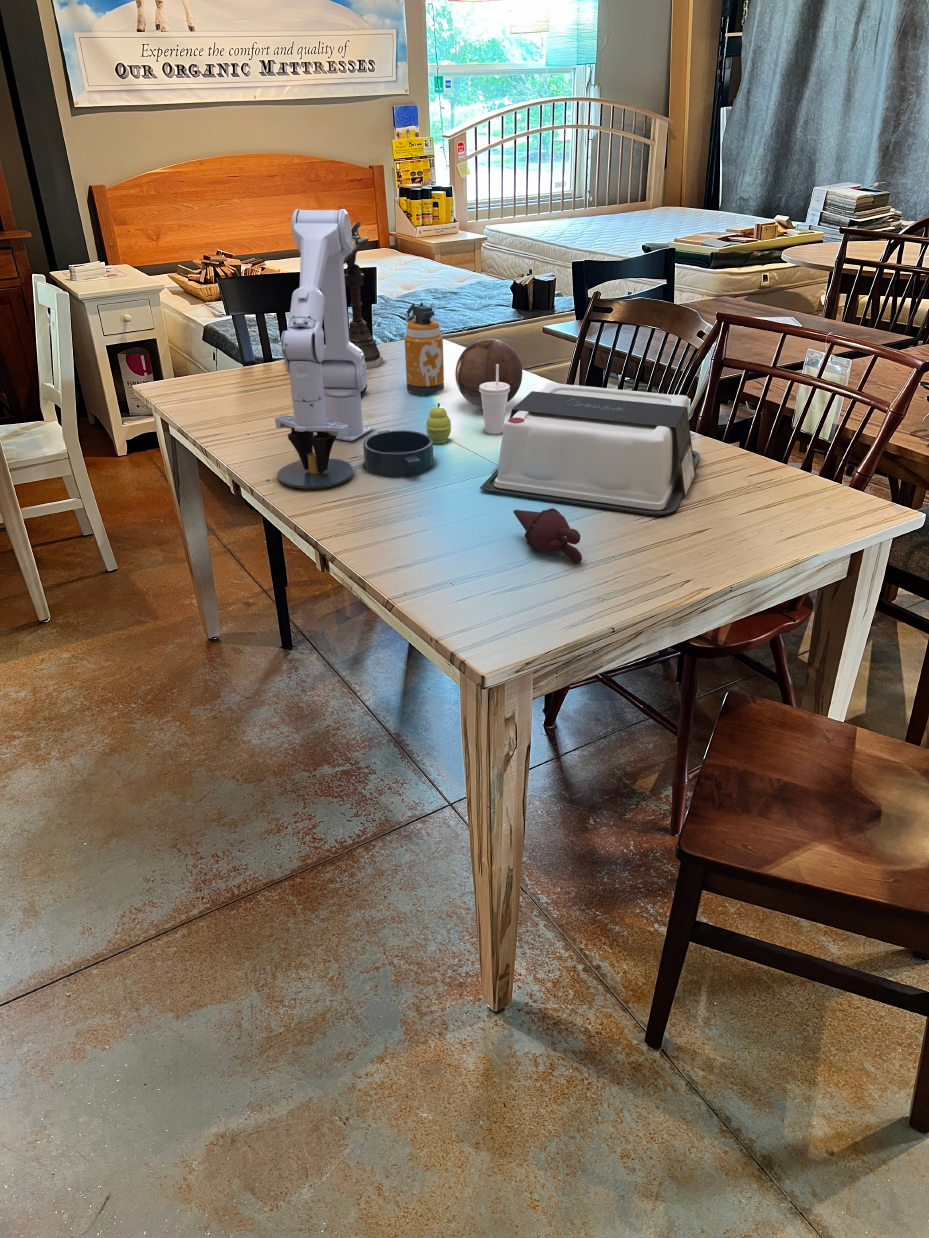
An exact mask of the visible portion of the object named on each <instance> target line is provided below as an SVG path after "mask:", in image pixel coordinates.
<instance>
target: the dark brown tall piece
mask: <svg viewBox="0 0 929 1238" xmlns="http://www.w3.org/2000/svg"><path fill="white" fill-rule="evenodd" d="M360 227H362V222H361V221H357V222H354V223H353V224H352V225H351V234H352V253H350V254H348V255H346V256H344V265H345V264H346V266H347V267H346V269H345V271H346V273H344V278H345V286H346V287H349V291H350V304H349V305H350V307H351V315H352V320H351V321H350V322H349V323H348V329H349V341H350V342H351V343H352V344H353V345H355V346H356V347H358V348H359V349H360V350H362V351H363V354H364V357H365V363H366V367H367V369H370V368H377V367H379V366H380V365H382V364H383V363H384V357H383V356H382V355H381V352H380V350H379V347H378V346H377V343H376V342H377V340H375V339H374V336H373V335H372V334H371V332H370V330H369V327H368V322H366V321H365V320H364V319H363V313H362V305H363V302H362V300H361V287H362V286H364V280H363V279H364V277H365V274H364V273H362V268H361V266H360V265H359V264H357V263H356V262H357V261H356V260H357V254H358V252H359V251H360V249H361V248H362V247H363V246H365V245H366V244H367V243H368V242H369V240H370V239H369V237H368V236H362V237H361V235H360V233H359V231H358V230H359V229H360Z"/></svg>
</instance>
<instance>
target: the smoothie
mask: <svg viewBox="0 0 929 1238" xmlns="http://www.w3.org/2000/svg"><path fill="white" fill-rule="evenodd" d="M479 391H480V392H481V399H482V406H483V408H482V413H483V423H484V429H485V433H486V434H490V435H499V434H503V429H504V423H505V419H506V413H507V412H506V411H507V405H508V402H507V398H508V392H509V391H510V386H509V385H508V384H507V383H503V382H499V365H498V364H497V365H496V382H486V383H483V384H481V385H480V386H479Z"/></svg>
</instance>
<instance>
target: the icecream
mask: <svg viewBox="0 0 929 1238" xmlns="http://www.w3.org/2000/svg"><path fill="white" fill-rule="evenodd" d="M512 512H513V515H514V516H515V517H516V519H517V520H518V522H519V523H520V525H521V526H522V527H523V530H525V533H524V538H525V540H526V545H528V546H529V547H530V548H531V549H532V550H534V551H536V550H538V551H540V552H542V553H557V552H559V551H561V553H562V554H563V555H564V556H566V558H568V560H570V561H571V562H573V563H574V564H579V563H581V562H582V560H583V556H582V553H581V552H580V551H579V549H578V548H577V547H575V546H576V545H578V544H579V543H580V540H581V534H580V533H579V532H580V531H578V530H577V529H576V528H571V527H570V525H569V523H568V521H567V519H566V517H565V516H564V515H563V514H562V513H560V511H559V510H557V509H556V508H553V507H552V508H548V509H544V510H541V511H532V510H522V509H514V510H513V511H512ZM573 545H575V546H573Z"/></svg>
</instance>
